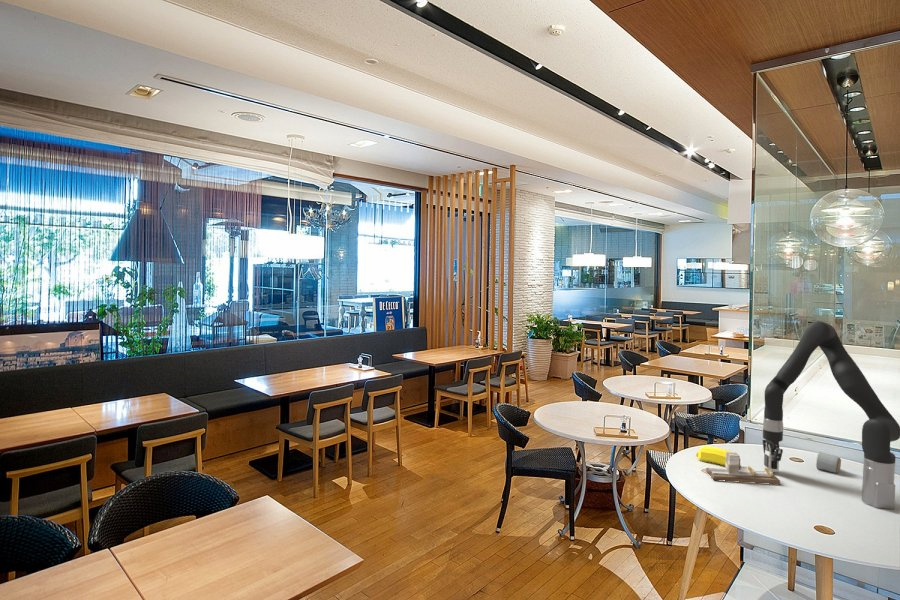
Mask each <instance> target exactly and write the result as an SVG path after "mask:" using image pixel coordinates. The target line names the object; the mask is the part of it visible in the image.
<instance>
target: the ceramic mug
mask: <svg viewBox="0 0 900 600" xmlns="http://www.w3.org/2000/svg"><path fill="white" fill-rule="evenodd" d="M815 465H816V469H818V470H821V471H826V472H830V473H835V474H836V473H837V474H838V473H839V472H840V470H841V465H842V459H841V457H839V456H837V455H833V454H829V453H827V452H822V451H819V452H818V453H817V457H816V463H815Z"/></svg>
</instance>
